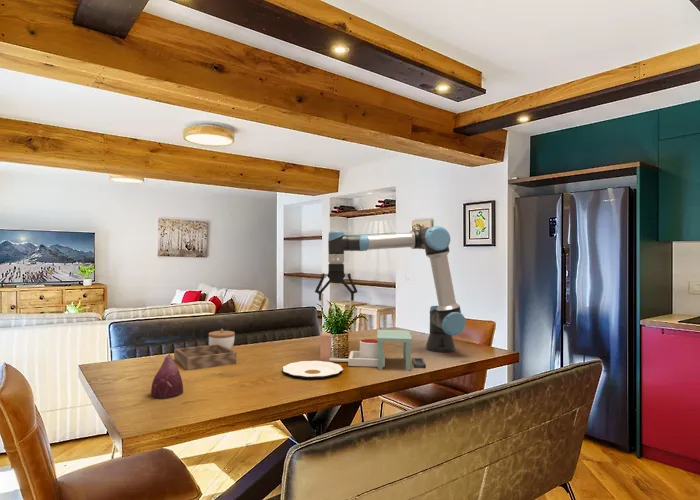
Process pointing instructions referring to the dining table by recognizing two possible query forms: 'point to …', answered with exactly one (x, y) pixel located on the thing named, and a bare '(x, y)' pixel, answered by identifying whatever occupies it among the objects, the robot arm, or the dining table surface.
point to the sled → (353, 356)
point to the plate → (302, 366)
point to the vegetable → (167, 381)
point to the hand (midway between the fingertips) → (336, 307)
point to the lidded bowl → (222, 338)
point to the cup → (368, 349)
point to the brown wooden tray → (204, 356)
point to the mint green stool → (394, 337)
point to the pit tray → (418, 363)
